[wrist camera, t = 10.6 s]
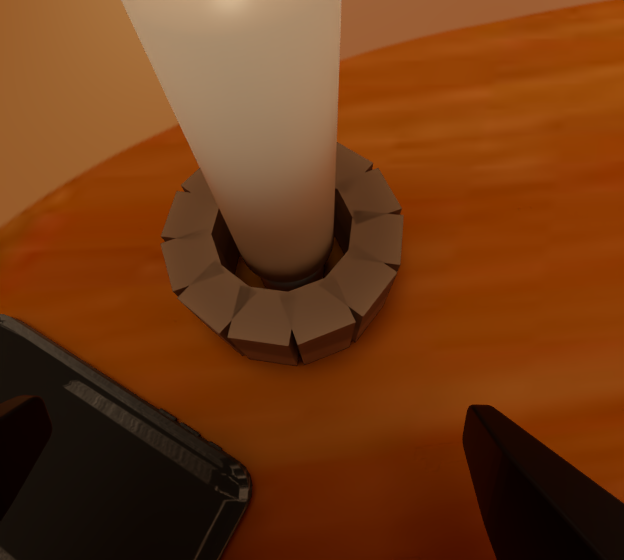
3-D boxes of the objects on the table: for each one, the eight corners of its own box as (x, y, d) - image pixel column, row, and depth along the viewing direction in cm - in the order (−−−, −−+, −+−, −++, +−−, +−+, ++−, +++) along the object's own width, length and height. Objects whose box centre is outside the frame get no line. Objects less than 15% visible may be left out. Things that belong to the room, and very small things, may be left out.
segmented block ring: (421, 317, 17) (447, 286, 14) (226, 396, 16) (196, 384, 12) (341, 167, 21) (344, 109, 17) (177, 223, 20) (142, 175, 16)
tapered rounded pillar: (344, 289, 18) (381, -7, 6) (267, 318, 18) (138, 64, 6) (314, 223, 19) (295, -118, 7) (242, 249, 19) (99, -70, 7)
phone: (131, 720, 12) (-155, 466, 15) (147, 697, 13) (-123, 463, 16) (261, 476, 14) (-7, 303, 18) (265, 473, 15) (12, 310, 19)
